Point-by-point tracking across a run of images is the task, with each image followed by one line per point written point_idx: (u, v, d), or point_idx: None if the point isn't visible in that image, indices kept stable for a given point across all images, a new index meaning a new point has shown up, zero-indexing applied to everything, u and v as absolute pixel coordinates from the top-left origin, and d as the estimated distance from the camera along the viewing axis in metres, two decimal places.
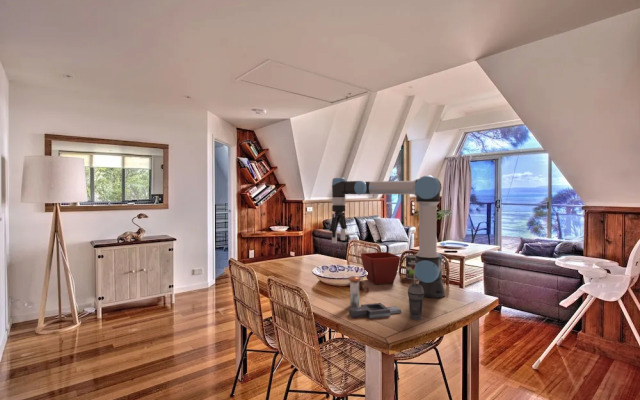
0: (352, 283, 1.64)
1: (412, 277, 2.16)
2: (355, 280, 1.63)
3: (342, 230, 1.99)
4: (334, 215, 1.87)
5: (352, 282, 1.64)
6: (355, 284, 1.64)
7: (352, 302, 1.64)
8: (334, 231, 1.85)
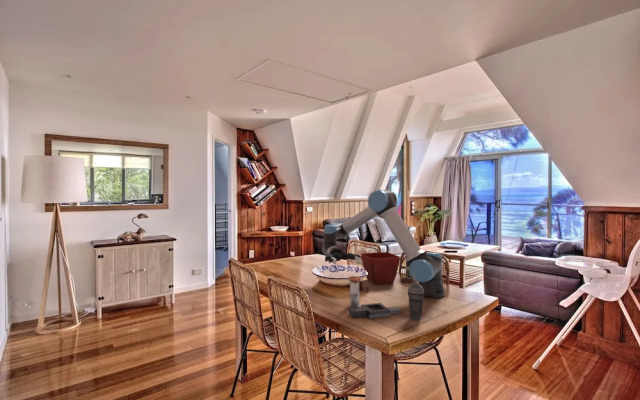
0: (352, 283, 1.64)
1: None
2: (355, 280, 1.63)
3: (355, 258, 1.82)
4: None
5: (352, 282, 1.64)
6: (355, 284, 1.64)
7: (352, 302, 1.64)
8: (328, 258, 1.79)
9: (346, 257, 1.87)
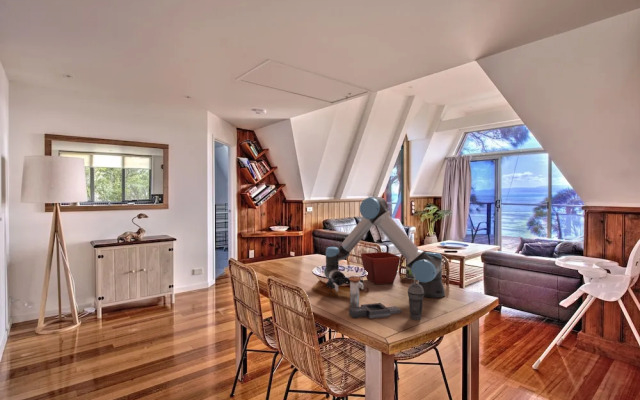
0: (352, 283, 1.64)
1: (412, 277, 2.16)
2: (355, 280, 1.63)
3: None
4: None
5: (352, 282, 1.64)
6: (355, 284, 1.64)
7: (352, 302, 1.64)
8: (330, 284, 1.75)
9: (348, 282, 1.82)
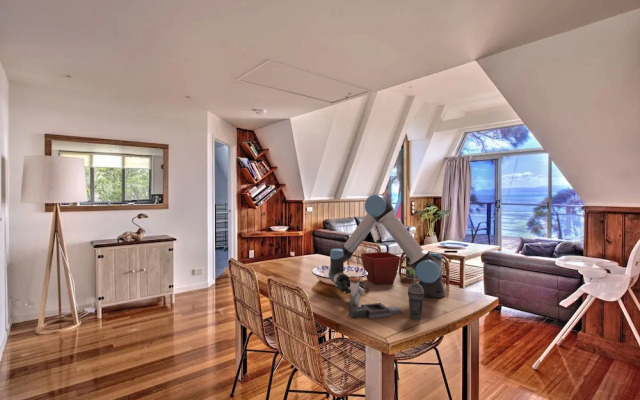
0: (352, 283, 1.64)
1: (412, 277, 2.16)
2: (355, 280, 1.63)
3: None
4: (335, 285, 1.74)
5: (352, 282, 1.64)
6: (355, 284, 1.64)
7: (352, 302, 1.64)
8: (345, 288, 1.66)
9: None
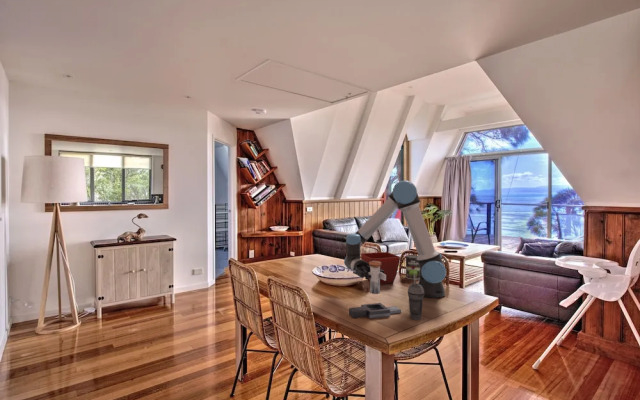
0: (372, 268, 1.54)
1: (412, 277, 2.16)
2: (376, 264, 1.52)
3: None
4: (353, 270, 1.64)
5: (372, 267, 1.54)
6: (376, 269, 1.53)
7: (372, 288, 1.54)
8: (365, 273, 1.56)
9: None
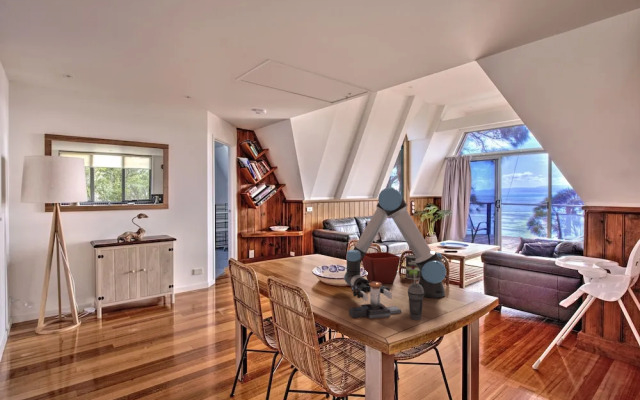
0: (373, 289, 1.54)
1: (412, 277, 2.16)
2: (376, 286, 1.53)
3: (384, 292, 1.59)
4: (352, 288, 1.65)
5: (373, 288, 1.54)
6: (376, 290, 1.53)
7: (373, 309, 1.54)
8: (357, 292, 1.56)
9: None
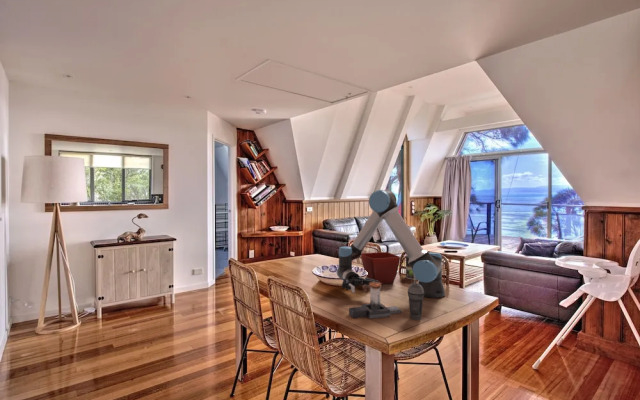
0: (373, 289, 1.54)
1: (412, 277, 2.16)
2: (376, 286, 1.53)
3: None
4: (343, 281, 1.78)
5: (373, 288, 1.54)
6: (376, 290, 1.53)
7: (373, 309, 1.54)
8: (346, 285, 1.69)
9: (364, 283, 1.76)
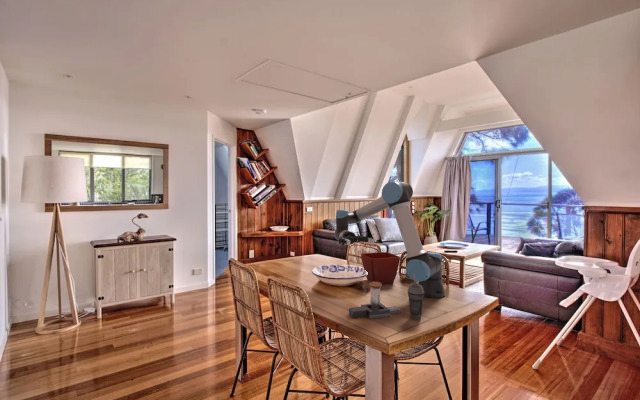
0: (373, 289, 1.54)
1: None
2: (376, 286, 1.53)
3: (368, 240, 1.83)
4: None
5: (373, 288, 1.54)
6: (376, 290, 1.53)
7: (373, 309, 1.54)
8: (342, 240, 1.80)
9: (359, 240, 1.88)
